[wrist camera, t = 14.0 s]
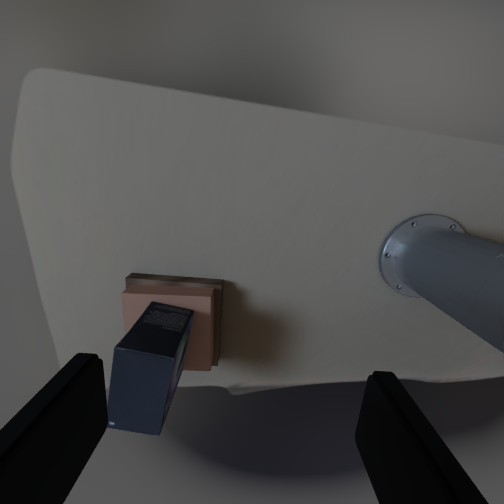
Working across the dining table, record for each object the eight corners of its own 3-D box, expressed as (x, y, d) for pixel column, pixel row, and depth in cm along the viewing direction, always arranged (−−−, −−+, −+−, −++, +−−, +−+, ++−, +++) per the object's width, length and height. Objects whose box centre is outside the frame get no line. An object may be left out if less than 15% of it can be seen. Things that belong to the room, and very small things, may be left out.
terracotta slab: (213, 287, 39) (210, 296, 36) (213, 357, 42) (210, 371, 39) (131, 284, 38) (121, 293, 36) (137, 354, 42) (128, 368, 39)
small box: (184, 372, 39) (160, 440, 29) (140, 363, 39) (101, 429, 29) (197, 309, 36) (176, 360, 26) (150, 299, 36) (109, 347, 26)
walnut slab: (223, 277, 41) (221, 285, 39) (219, 353, 45) (217, 365, 42) (134, 270, 41) (125, 277, 38) (137, 348, 45) (129, 359, 42)
